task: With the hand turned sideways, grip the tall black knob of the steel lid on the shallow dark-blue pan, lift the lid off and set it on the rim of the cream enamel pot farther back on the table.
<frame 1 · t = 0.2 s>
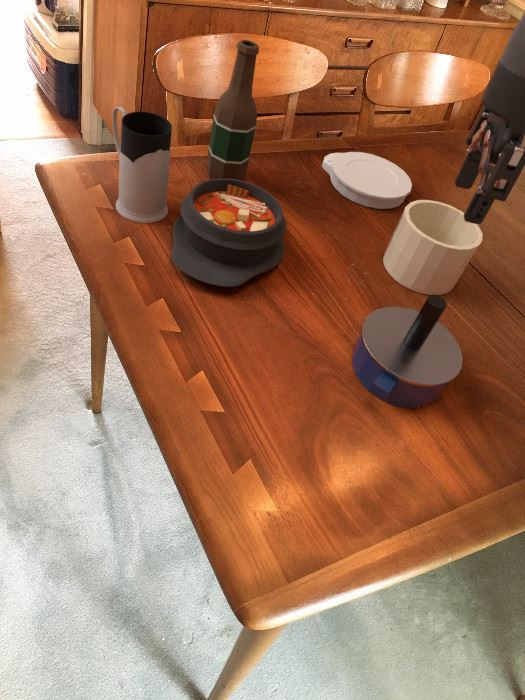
hand: (466, 203, 69), 24 cm above the table, tool pointing down, fingers open, 8 cm apart
casserole: (227, 248, 93), on the table
beer bottle: (225, 175, 108), on the table
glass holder: (133, 200, 96), on the table
pot: (419, 269, 100), on the table
pan: (396, 370, 81), on the table
steel lid: (411, 345, 77), point 5 cm above the table, touching pan
lid: (362, 183, 117), on the table
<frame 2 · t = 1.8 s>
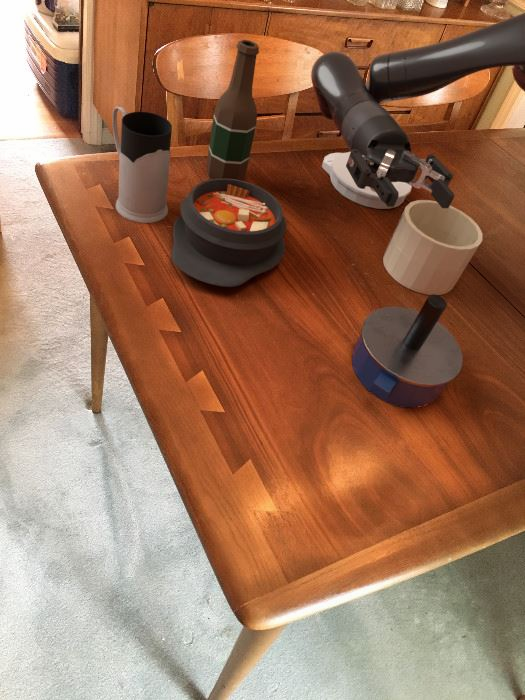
hand: (422, 202, 73), 21 cm above the table, tool horizontal, fingers open, 8 cm apart
nothing on the table moved.
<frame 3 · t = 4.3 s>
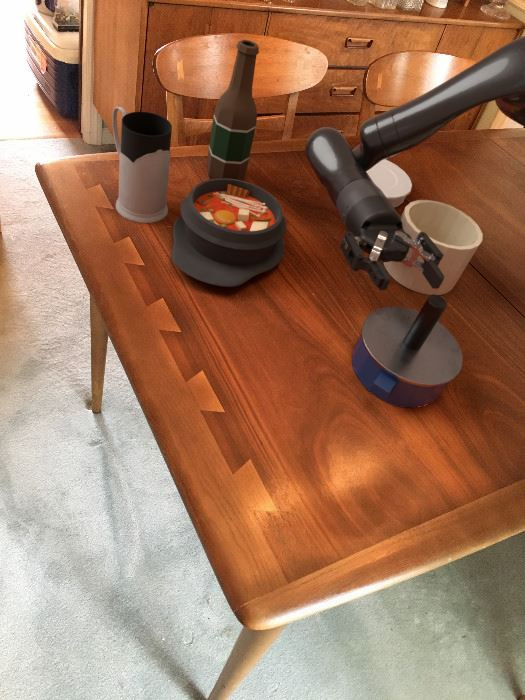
hand: (413, 285, 76), 12 cm above the table, tool horizontal, fingers open, 8 cm apart
nothing on the table moved.
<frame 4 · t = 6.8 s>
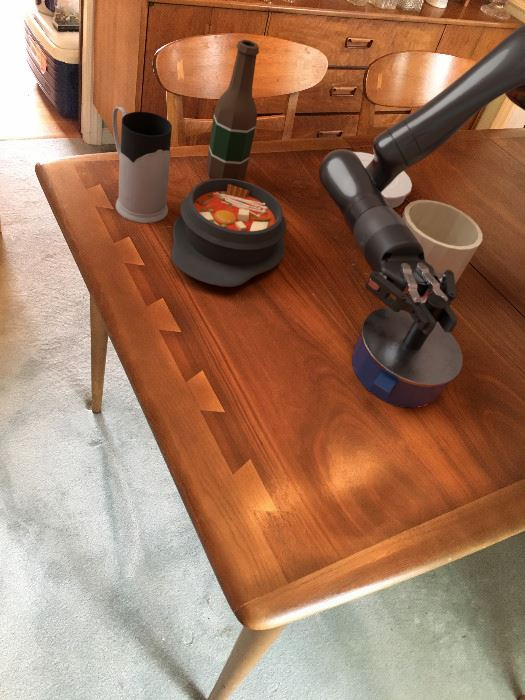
hand: (441, 328, 71), 12 cm above the table, tool horizontal, fingers closed on steel lid, 2 cm apart
steel lid: (411, 345, 77), point 5 cm above the table, touching gripper, pan
everything else where it was.
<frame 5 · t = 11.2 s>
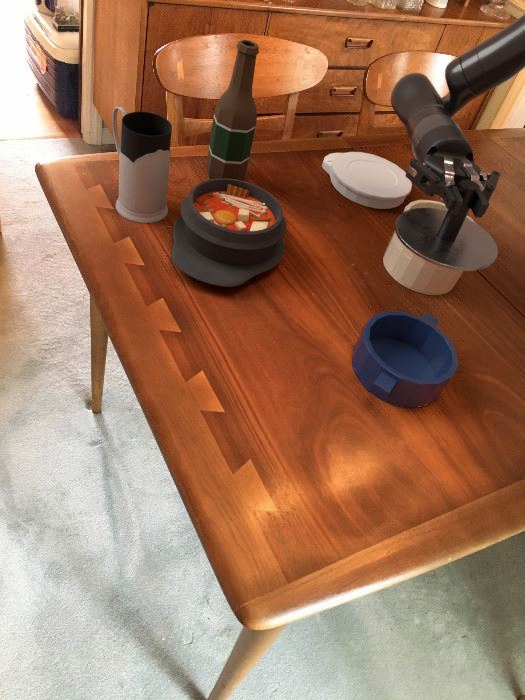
hand: (469, 209, 72), 22 cm above the table, tool horizontal, fingers closed on steel lid, 2 cm apart
steel lid: (445, 239, 78), point 16 cm above the table, touching gripper
everything else where it was.
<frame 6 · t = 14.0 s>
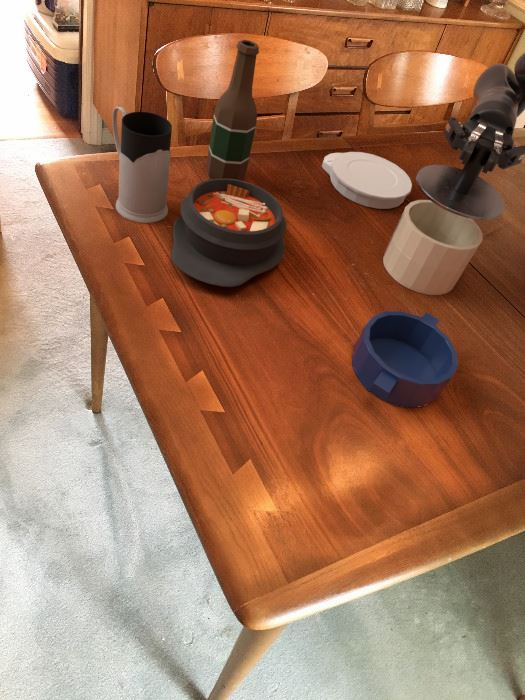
hand: (477, 162, 82), 22 cm above the table, tool horizontal, fingers closed on steel lid, 2 cm apart
steel lid: (459, 192, 89), point 16 cm above the table, touching gripper
everything else where it was.
when the fingers open (17 cm above the table, at t = 15.8 s): steel lid stays where it is, resting on pot.
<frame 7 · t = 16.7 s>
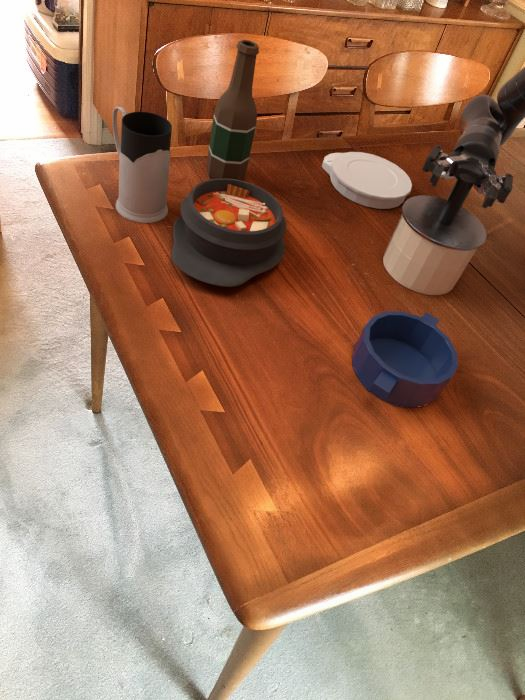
hand: (461, 192, 86), 17 cm above the table, tool horizontal, fingers open, 8 cm apart
steel lid: (443, 223, 93), point 10 cm above the table, touching pot
everything else where it was.
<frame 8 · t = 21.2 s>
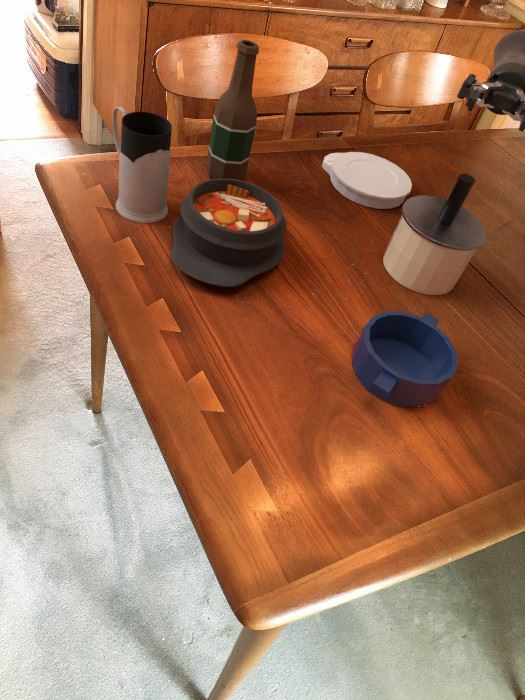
hand: (498, 115, 87), 26 cm above the table, tool horizontal, fingers open, 8 cm apart
nothing on the table moved.
at the end: steel lid 0.1 cm off-centre on the pot, point 10.0 cm above the pot's base; steel lid tilted 0°; the gripper is holding nothing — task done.
